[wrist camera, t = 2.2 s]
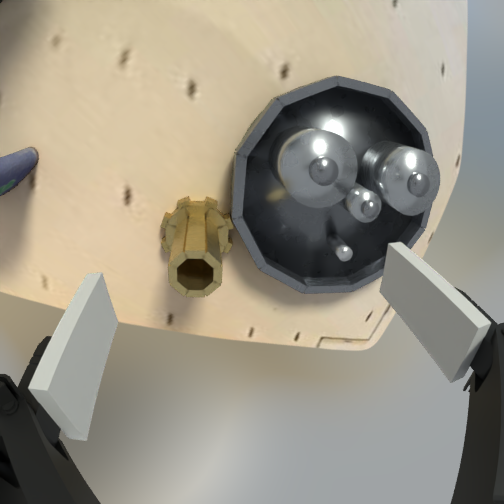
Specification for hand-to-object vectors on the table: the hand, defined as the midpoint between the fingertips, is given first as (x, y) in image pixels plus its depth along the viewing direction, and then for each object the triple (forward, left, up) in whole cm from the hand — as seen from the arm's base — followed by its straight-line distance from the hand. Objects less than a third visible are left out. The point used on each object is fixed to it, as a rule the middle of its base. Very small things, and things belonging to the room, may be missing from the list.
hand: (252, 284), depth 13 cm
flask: (-25, +1, -20) cm, 32 cm away
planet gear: (-3, -6, -20) cm, 21 cm away
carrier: (+13, 0, -20) cm, 24 cm away
